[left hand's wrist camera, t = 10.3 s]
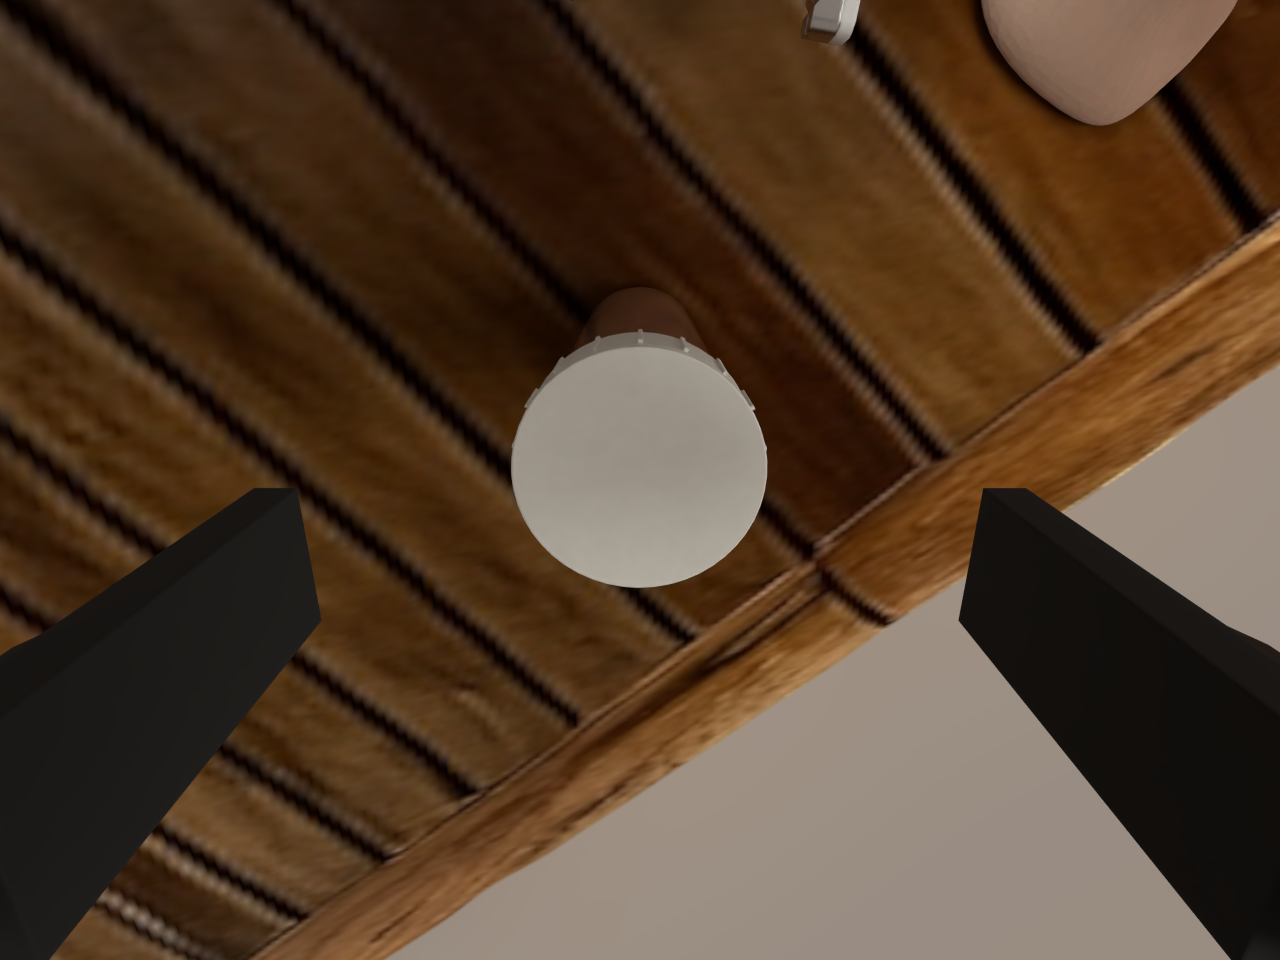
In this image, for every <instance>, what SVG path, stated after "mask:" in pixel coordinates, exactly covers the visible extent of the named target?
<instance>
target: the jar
mask: <svg viewBox="0 0 1280 960" xmlns="http://www.w3.org/2000/svg"><path fill="white" fill-rule="evenodd" d="M638 329H642V330H643V332H648V333H658V334H663V335H667V336H672V337H675V338H677V339H680V337H683V338H685V340H686V342H688V343H690V344H692V345H694V346H696V347H698V348H700V349H701V350H703V351H704V352H705V353H707V354H708V355H710V354H709V352H708V350H707V348H706V347H705V345H704V343H703V341H702V339H701V337H700V335H699V334H698V332H697V330H696V328H695V326H694V324H693V322H692V320H691V319H690V317H689V315H688V314H687V312H686V310H685V309H684V308H683V307H682V305H681V304H680V303H678V302H677V301H676V300H675V299H674V298H672V297H671V296H670V295H668V294H666V293H664V292H662V291H659V290H656V289H653V288H648V287H631V288H626V289H623V290H620V291H617V292H615V293H613V294H611V295H610V296H608V297H607V298H605V299H604V300H603V301H602V302H601V303H600V304H599V305H598V306H597V307H596V308H595V309H594V311H593V312H592V314H591V315H590V317H589V319H588V321H587V323H586V324H585V326H584V328H583V330H582V332H581V334H580V335H579V337H578V339H577V341H576V343H575V345H574V346H573V348H572V350H571V352H570V354H572V353H573V352H575V351H576V350H577V349H579V348H581V347H583V346H585V345H587V344H589V343H591V342H593V341H595V338H596V337H598V336H600V338H604V337H607V336H611V335H616V334H621V333H631V332H638ZM570 354H569V355H570Z"/></svg>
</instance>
